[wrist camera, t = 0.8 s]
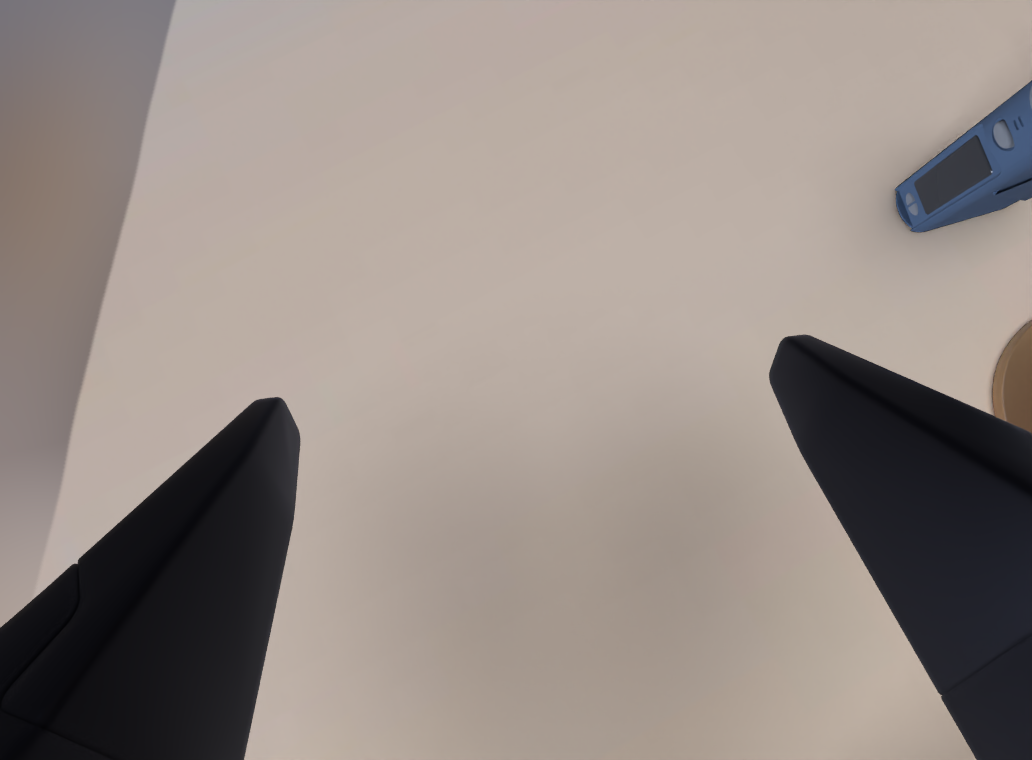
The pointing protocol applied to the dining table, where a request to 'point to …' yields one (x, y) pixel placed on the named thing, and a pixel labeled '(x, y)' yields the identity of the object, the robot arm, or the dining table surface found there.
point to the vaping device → (974, 170)
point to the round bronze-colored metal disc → (1015, 381)
